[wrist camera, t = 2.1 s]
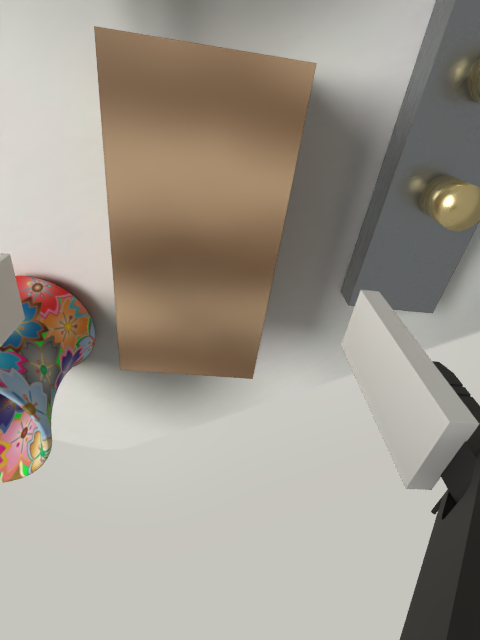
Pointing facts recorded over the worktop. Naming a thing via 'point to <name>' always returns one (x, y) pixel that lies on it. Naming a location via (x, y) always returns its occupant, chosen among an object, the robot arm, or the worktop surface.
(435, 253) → the mount rail
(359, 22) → the worktop surface
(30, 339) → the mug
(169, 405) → the worktop surface
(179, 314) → the brown wooden block
